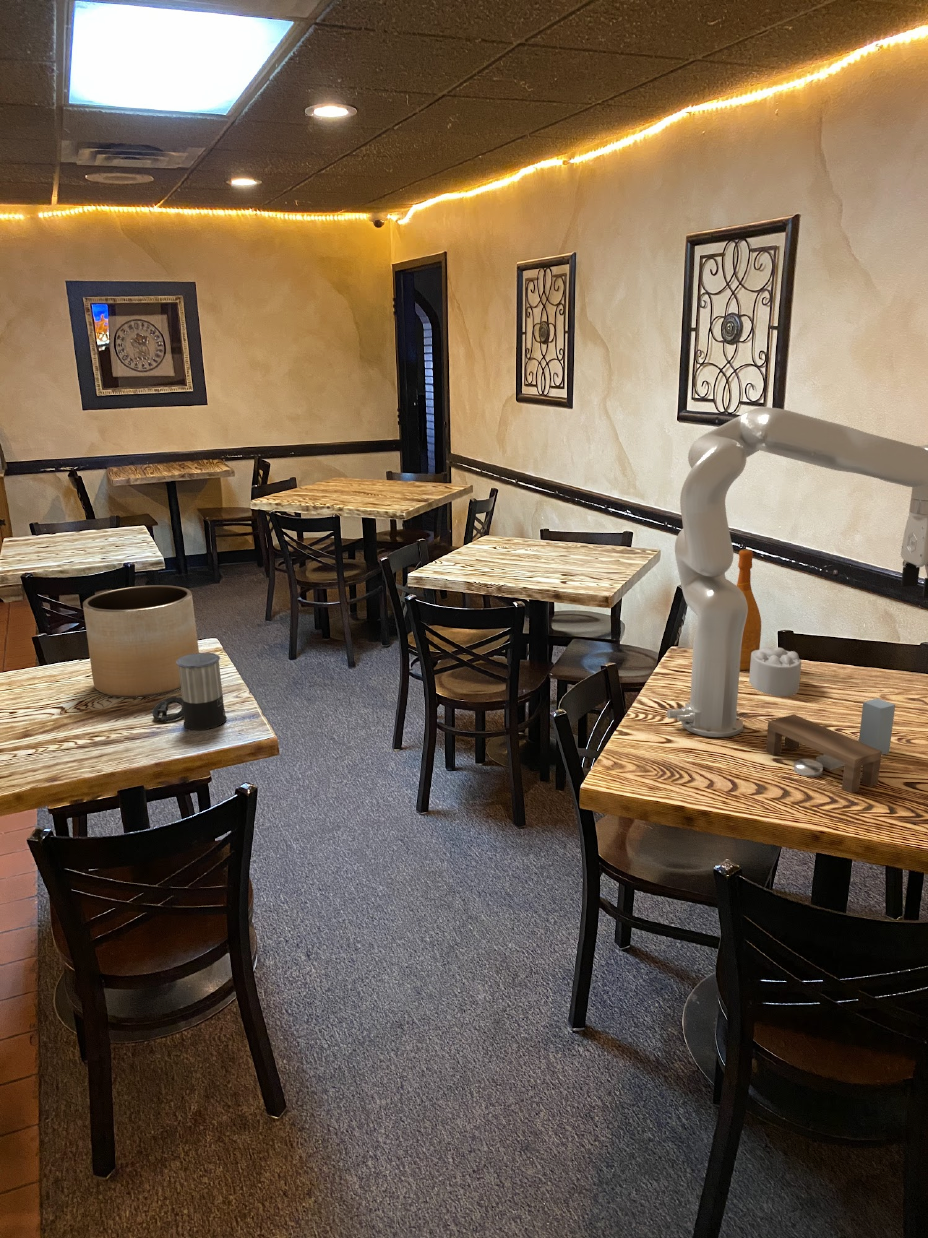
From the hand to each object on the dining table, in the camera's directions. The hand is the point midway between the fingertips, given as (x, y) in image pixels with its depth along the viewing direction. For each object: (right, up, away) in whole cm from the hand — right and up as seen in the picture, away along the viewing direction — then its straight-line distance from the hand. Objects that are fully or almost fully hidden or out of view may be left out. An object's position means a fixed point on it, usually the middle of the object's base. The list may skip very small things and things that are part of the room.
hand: (919, 591), depth 176 cm
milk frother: (-154, -28, +15) cm, 157 cm away
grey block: (-18, -32, -9) cm, 38 cm away
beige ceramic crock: (-172, -22, +40) cm, 178 cm away
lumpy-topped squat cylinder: (-19, -22, +29) cm, 41 cm away
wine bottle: (-23, -18, +44) cm, 53 cm away
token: (-29, -34, -14) cm, 47 cm away
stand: (-26, -34, -13) cm, 44 cm away
